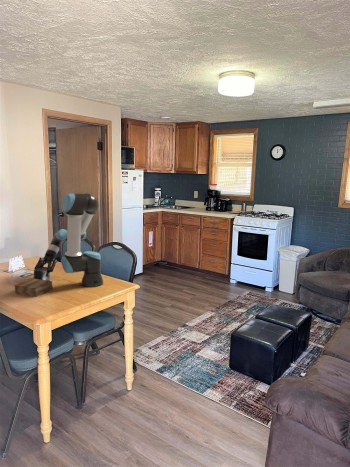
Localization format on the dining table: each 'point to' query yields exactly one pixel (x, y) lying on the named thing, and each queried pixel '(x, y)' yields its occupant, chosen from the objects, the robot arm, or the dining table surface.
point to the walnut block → (33, 287)
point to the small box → (41, 273)
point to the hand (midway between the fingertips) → (38, 279)
